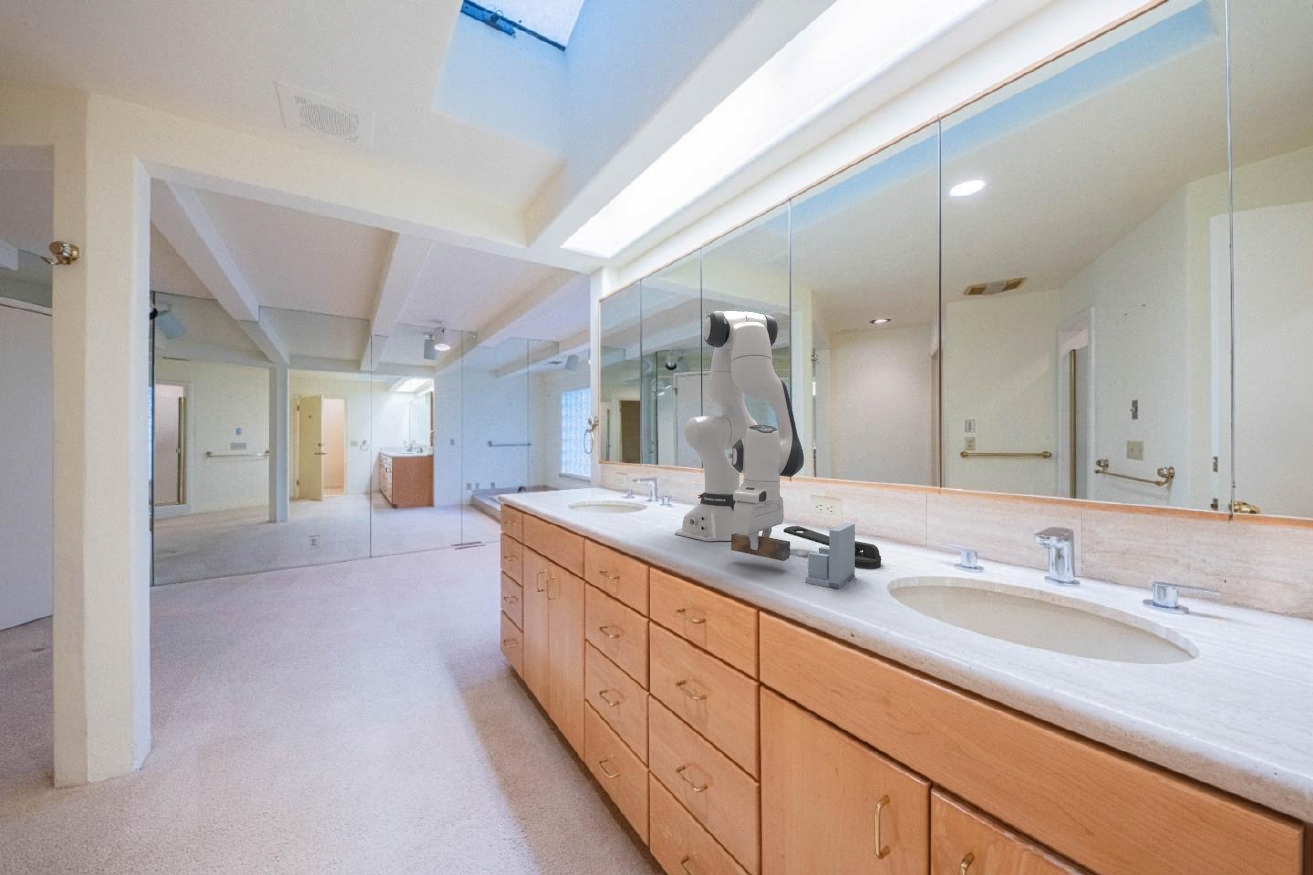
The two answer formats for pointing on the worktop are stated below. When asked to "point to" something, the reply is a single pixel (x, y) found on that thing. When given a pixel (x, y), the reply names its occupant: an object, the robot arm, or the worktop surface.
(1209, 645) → the worktop surface
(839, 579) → the post block
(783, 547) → the brown long rectangular block
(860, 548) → the black stapler
